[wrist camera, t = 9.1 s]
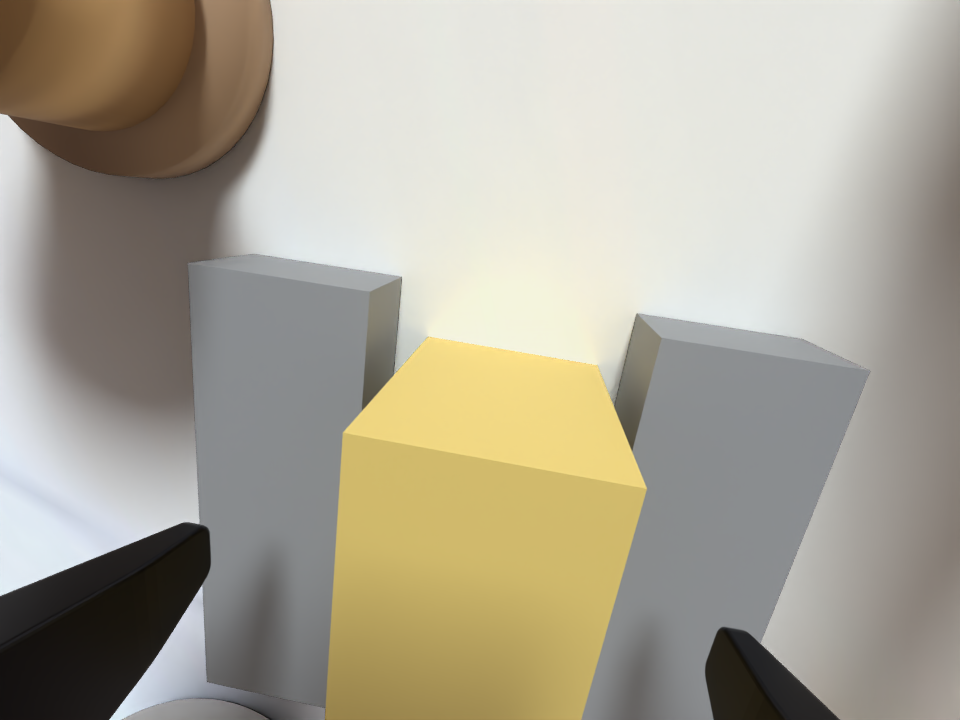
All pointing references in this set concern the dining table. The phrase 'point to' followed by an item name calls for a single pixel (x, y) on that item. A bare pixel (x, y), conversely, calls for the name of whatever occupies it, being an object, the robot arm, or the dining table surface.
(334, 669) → the tab
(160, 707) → the pump dispenser
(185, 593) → the robot arm
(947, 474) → the dining table surface
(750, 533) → the gray u-shaped block
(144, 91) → the ball
